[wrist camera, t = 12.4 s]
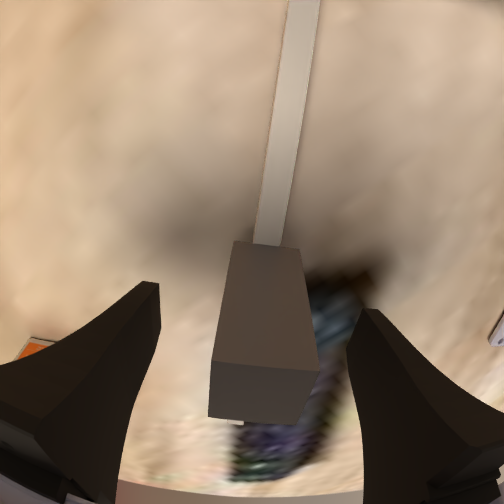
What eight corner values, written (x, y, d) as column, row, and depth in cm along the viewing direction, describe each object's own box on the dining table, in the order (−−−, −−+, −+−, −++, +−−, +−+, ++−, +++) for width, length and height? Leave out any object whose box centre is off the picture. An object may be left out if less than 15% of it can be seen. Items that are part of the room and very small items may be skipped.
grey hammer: (334, -5, 9) (414, -98, 2) (255, 401, 20) (250, 510, 13) (270, -16, 9) (275, -133, 2) (218, 397, 20) (204, 505, 13)
